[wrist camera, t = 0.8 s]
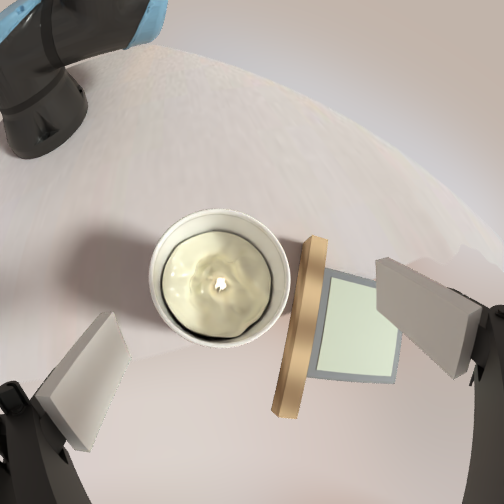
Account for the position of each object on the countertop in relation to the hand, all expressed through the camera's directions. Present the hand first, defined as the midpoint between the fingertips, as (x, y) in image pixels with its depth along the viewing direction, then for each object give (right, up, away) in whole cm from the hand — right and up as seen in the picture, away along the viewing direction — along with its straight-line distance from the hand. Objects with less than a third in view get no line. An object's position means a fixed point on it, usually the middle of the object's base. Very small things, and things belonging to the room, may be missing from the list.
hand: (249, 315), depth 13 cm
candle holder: (-4, -2, +17) cm, 18 cm away
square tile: (+14, -7, +19) cm, 25 cm away
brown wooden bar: (+5, -6, +18) cm, 20 cm away
